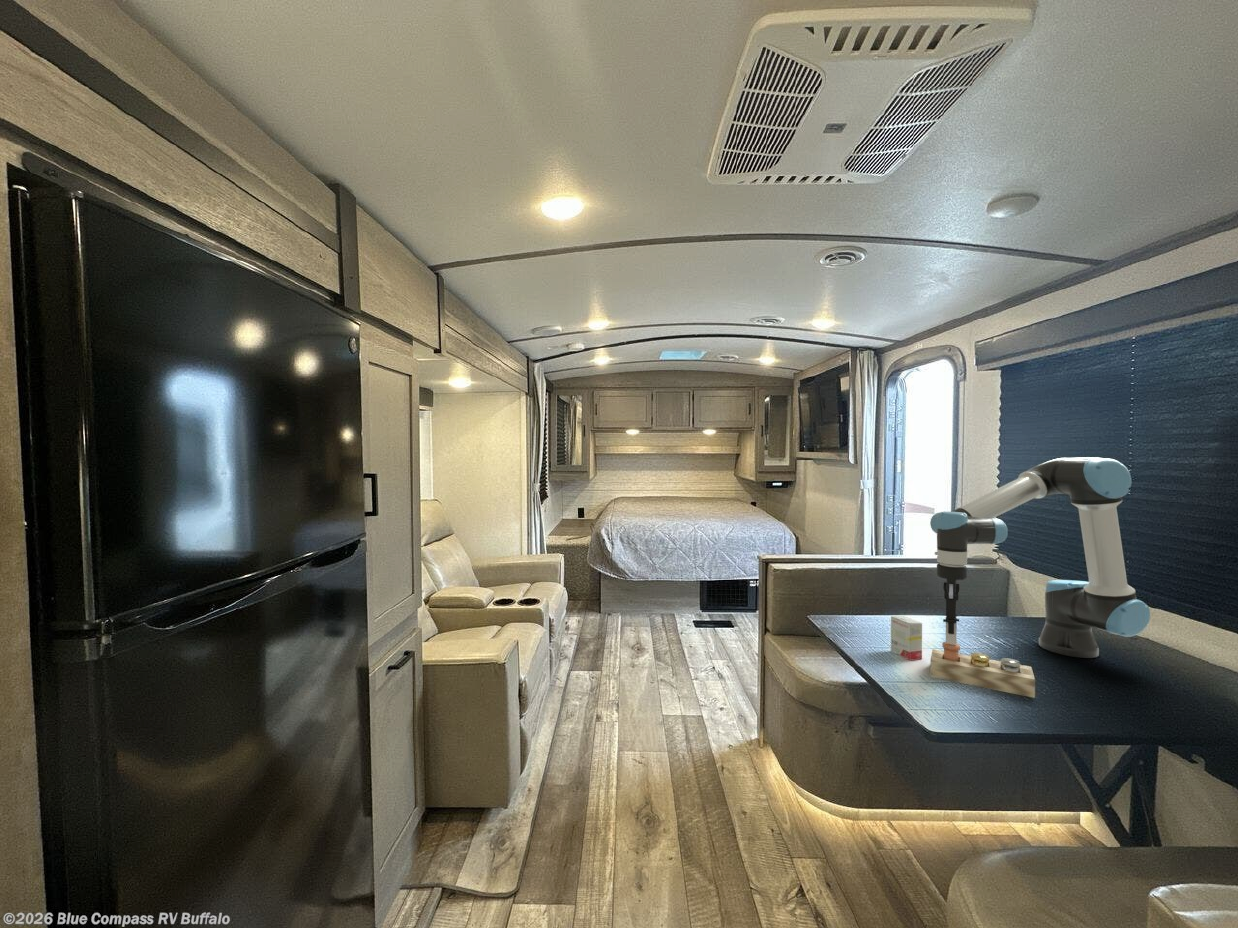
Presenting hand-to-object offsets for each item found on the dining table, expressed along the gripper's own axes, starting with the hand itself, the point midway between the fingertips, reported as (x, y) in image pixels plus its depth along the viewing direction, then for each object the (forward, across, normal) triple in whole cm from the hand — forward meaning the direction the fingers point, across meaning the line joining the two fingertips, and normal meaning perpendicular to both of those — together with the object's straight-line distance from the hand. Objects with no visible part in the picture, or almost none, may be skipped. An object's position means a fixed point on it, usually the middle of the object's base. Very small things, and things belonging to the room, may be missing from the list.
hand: (951, 643), depth 153 cm
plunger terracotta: (+7, 0, 0) cm, 7 cm away
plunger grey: (+9, 0, +14) cm, 17 cm away
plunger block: (+9, 0, +7) cm, 12 cm away
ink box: (+10, -10, -12) cm, 19 cm away
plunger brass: (+9, 0, +7) cm, 11 cm away
